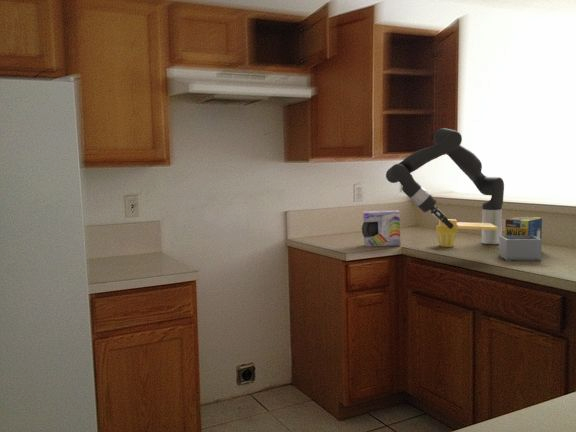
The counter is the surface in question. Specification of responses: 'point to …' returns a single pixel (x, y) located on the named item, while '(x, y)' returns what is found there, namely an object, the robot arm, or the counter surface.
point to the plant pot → (446, 235)
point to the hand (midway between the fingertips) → (451, 226)
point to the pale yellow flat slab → (470, 225)
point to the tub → (520, 247)
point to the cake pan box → (381, 228)
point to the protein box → (524, 226)
